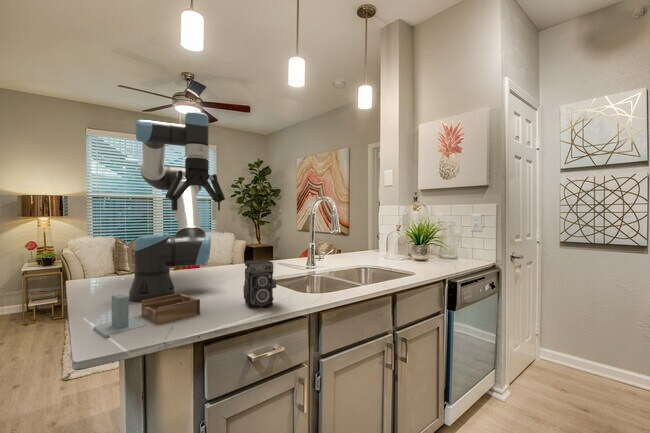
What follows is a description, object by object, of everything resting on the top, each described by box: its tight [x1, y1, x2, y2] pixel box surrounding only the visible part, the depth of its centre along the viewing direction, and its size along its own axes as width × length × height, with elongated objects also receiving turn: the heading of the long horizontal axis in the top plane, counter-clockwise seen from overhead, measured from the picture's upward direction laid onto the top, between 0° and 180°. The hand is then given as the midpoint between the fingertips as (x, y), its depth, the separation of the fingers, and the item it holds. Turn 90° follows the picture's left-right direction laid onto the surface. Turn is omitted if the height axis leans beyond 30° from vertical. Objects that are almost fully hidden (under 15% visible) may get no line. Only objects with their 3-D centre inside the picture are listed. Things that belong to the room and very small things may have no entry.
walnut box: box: [141, 292, 201, 325], centre depth 96 cm, size 12×12×5 cm
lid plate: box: [93, 293, 147, 339], centre depth 86 cm, size 10×9×9 cm
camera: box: [242, 259, 277, 309], centre depth 106 cm, size 10×10×15 cm
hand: (197, 220), depth 109 cm, fingers open, 13 cm apart
